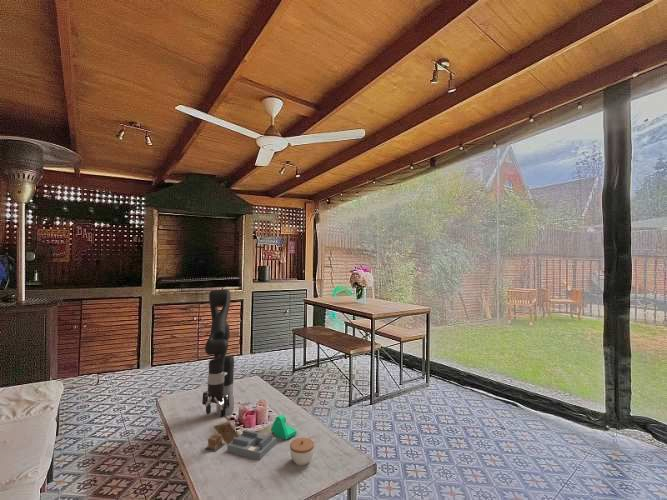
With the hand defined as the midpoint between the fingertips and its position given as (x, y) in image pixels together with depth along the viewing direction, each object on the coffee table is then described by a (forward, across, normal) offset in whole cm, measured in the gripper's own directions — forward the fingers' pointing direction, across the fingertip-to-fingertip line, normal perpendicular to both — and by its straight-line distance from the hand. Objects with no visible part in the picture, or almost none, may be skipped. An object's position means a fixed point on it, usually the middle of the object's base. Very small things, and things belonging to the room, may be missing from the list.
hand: (215, 415), depth 160 cm
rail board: (+15, -17, -6) cm, 24 cm away
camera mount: (+15, -25, -23) cm, 37 cm away
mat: (+15, 0, 0) cm, 15 cm away
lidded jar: (+15, -44, -5) cm, 47 cm away
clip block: (+12, 0, 0) cm, 12 cm away
